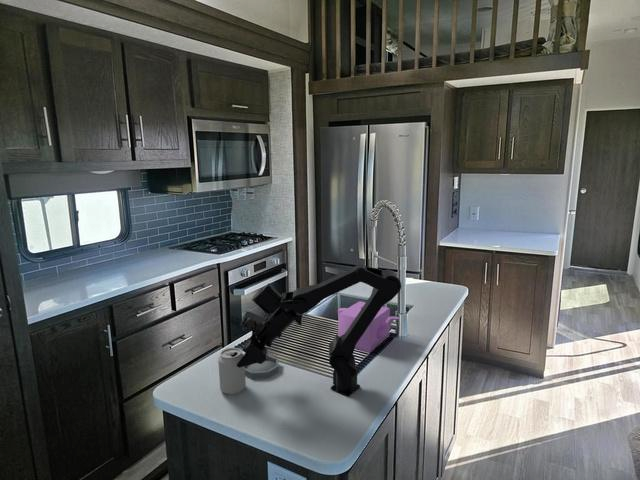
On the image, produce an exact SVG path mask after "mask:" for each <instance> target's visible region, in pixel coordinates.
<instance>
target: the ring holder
mask: <svg viewBox="0 0 640 480" xmlns="http://www.w3.org/2000/svg"><path fill="white" fill-rule="evenodd" d="M279 361H280V360H279V358H278V357H276V356H273V355H271V354H269V353H268V354H267V358H266V360H265V361H264V362H263V363H262V364H258V363H255V364H251V365H247V366H245V377H247V378H250V379H251V380H259V379H260V380H261V379H269V378H270V377H272V376H274V375H276V374H278V373H279V372H280V370H279V369H280V367H279V365H280V362H279Z"/></svg>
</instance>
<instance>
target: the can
mask: <svg viewBox="0 0 640 480" xmlns="http://www.w3.org/2000/svg"><path fill="white" fill-rule="evenodd" d="M244 354H245V353H243V350H241V348H238V347H227V348H225V349H223V350H221V351H220V353H219V356H218V357H217V361H218V363H217V364H218V375H219V376H218V377H219V389H220V391H221V392H222V393H224V394H226V395H236V394H239V393H241V392H242V391H243V390H244V389H245V388H246V376H245V366H244V367H240V368H239V367H237V363H238V362H239V361H240V359H241V358H242V357H243V355H244Z"/></svg>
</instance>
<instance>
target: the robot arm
mask: <svg viewBox="0 0 640 480" xmlns="http://www.w3.org/2000/svg"><path fill="white" fill-rule="evenodd" d="M359 283H364V284H366V285H368V286H369V287H371V288H372V291H371V294H370V296H369V297H368V298H367V300H366V302H365V305H364V306H363V307H362V309H361V310H360V312H359V313H358V315H357V316H356V318H355V319H354V321H353V322H352V324H351V325H350V327H349V328H348V330H347V331H346V333H345V334H343V335H342V336H340V337H339V336H338V333H337V334H335V335H334V337H333V339H332V341H331V342H329V343H328V361H329V365H330V367H331V368H332V369H333V371H332V384H333V385H331V386H330V390H333V391H334V392H336V393H338V394H340V395H341V394H342V395H344V396H346V397H350V396H351V395H352V394H354V393H355V392H356V391H357V390H359V389H360V388H361V385H360V384H358V370H357V365H356V359H355V358H356V357H355V355H354V352H355V350H356V349H355V346H356V344H357V342H358V341H359V339H360V338H361V337H362V335H363V334H364V332H365V331H366V329H367V328H368V326H369V325H370V324H371V322H372V321H373V319H374V318H375V316H376V315H377V313H378V312H379V310H380V309H381V308H382V306H383V307H384V305H386V304H388V303H389V302H391V301H392V300H393V299H394V298H395V297H396V296H397V295H398V294H399V293H400V292H401V289H402V282H401V280H400V279H399V277H398V275H397V273H396V272H395V271H394V270H391V269H384V270H383V269H381V268H377V267H371V266H367V265H364V264H357V265H355V266H354V267H351V268H349V269H348V270H346V271H343V272H341V273H339V274H337V275H335V276H333V277H331V278H329V279H326V280H325V281H321V282H320V283H317V284H311V285H306V286H302V287H298V288H296V289H294V291H293V290H292V291H287V292H282V293H280V292H279V291H278V290H277V289H275V288H274V286H273V285H272V284H271V283H270V282H269V283H267V284H266V285H264V286H263V287H261V288H260V289H259V290H258V291H257V292H256V293H255V294H254V295H253V297H252V298H251V301H252V302H253V303H254V304H256V306H258V307H259V309H261V311H263V312H264V313H265V314H268V315H266V316H265V317H261V316H260V315H258V314H256V313H253V312H251V311H247V310H246V311H245V314H244V316H243V318H242V320H241V322H240V324H239V326H240V327H241V328H243V329H245V330H248V331H251V335H250V337H249V339H248V341H247V342H246V343H245V345H244V347H242V352H244V353H243V354H244V355H243V357H242V358H241V359H240V361H239V362H238V363H237V367H239V368H240V367H244V366H247V365H251V364H255V363H258V364H262V363H263V362H264V361H265V360H266V358H267V354H269V353H268V348H270V347H272V345H273V342H274V341H275V340H276V339H278V338H279V339H280V338H281V336H282V334H283V333H284V332H285V330H287V329H288V328H289V327H290V326H291V325H292V324H293V323H294V322H296V323H297V324H298V326H301V325H302V323H303V315H304V314H306V313H308V312H310V310H311V311H312V309H314V308H315V307H317V305H319V304H320V303H321V302H322V301H323V300H324V299H327V298H329V297H330V296H333V295H335V294H337V293H340V292H342V291H344V290H346V289H348V288H350V287H352V286H354V285H357V284H359ZM270 314H271V315H270ZM266 346H267V347H268V348H266Z"/></svg>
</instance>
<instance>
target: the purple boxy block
mask: <svg viewBox="0 0 640 480" xmlns="http://www.w3.org/2000/svg"><path fill="white" fill-rule="evenodd" d="M365 303H366V302H365V301H357V302H356V303H354V304H352V305H351V306H348V307H347V308H346V307H341V308H339V309H338V310H337V314H338V317H337V320H338V325H337V326H338V330H337V331H338V333H337V335H338V336H339V337H340V336H342V335H343V334H345V333H346V331H347V330H348V328H349V327H350V325H351V324H352V322H353V321H354V319H355V318H356V316H357V315H358V313H359V312H360V310H361V309H362V307H363V306H364V305H365ZM399 319H400V317H399V316H391V308H390V307H386V306H384V305H383V306H382V308H381V309H380V310H379V312H378V313H377V315H376V316H375V318H374V319H373V321H372V322H371V324H370V325H369V326H368V328H367V329H366V331H365V332H364V334H363V335H362V337H361V338H360V339H359V341H358V342H357V344H356V346H355V349H354V350H357V349H359V350H358V351H361V350H362V351H361V352H364V351H365V353H367V352H369V353H368V354H371V353H372V352H373V351H374V350H376V349H377V348H378V347H379V346H380V345H381V344H380V343H381V342H383V341H384V340H385V339H386V338H388V337H389V338H390V329H391V326H392V323H393V322H394V321H396V320H399ZM389 338H388V339H389ZM386 340H387V339H386ZM386 340H385V341H386ZM385 341H384V342H385ZM384 342H383V343H384ZM379 344H380V345H379ZM378 345H379V346H378ZM377 346H378V347H377ZM376 347H377V348H376ZM375 348H376V349H375ZM373 349H374V350H373ZM372 350H373V351H372ZM371 351H372V352H371ZM370 352H371V353H370Z"/></svg>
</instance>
